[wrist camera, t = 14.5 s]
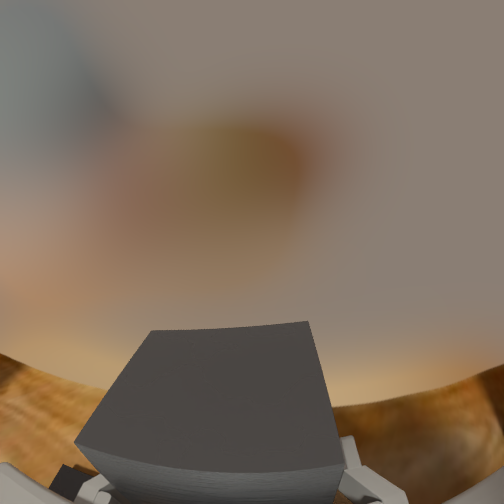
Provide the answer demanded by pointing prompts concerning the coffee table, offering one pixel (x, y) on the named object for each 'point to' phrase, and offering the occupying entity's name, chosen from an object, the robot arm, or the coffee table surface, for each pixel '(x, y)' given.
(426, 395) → the coffee table surface
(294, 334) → the dark grey matte block
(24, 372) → the coffee table surface
